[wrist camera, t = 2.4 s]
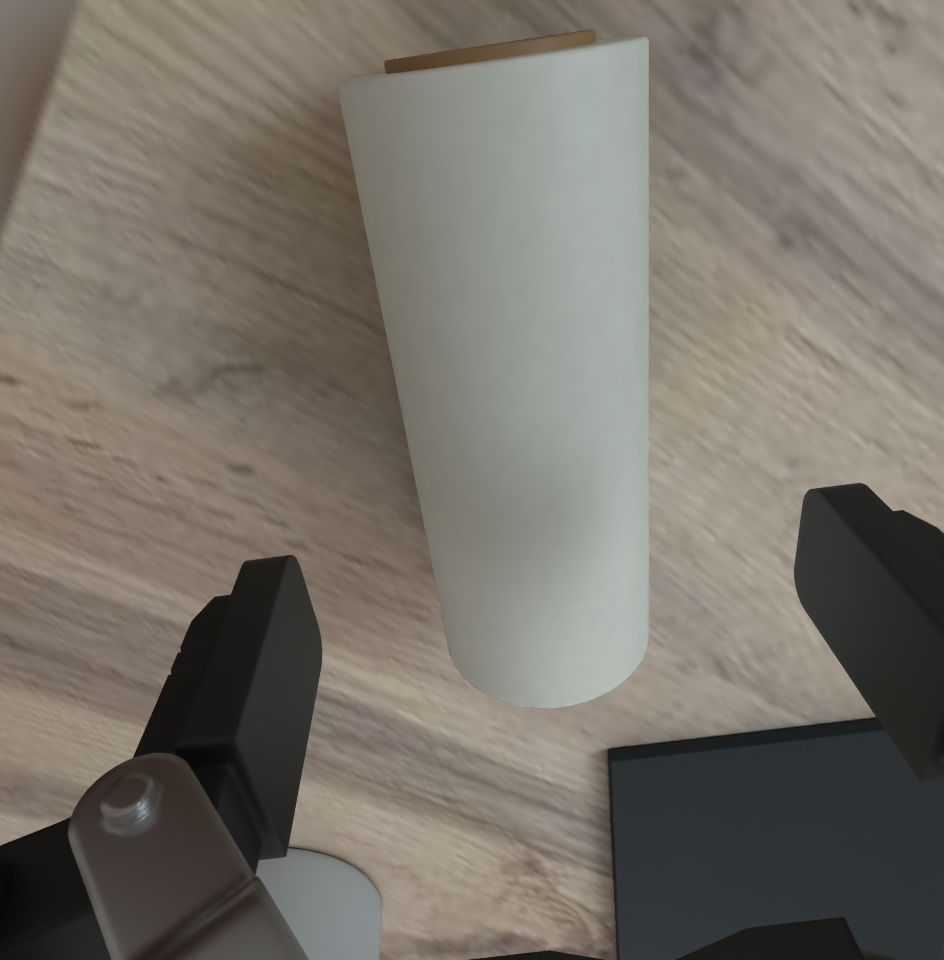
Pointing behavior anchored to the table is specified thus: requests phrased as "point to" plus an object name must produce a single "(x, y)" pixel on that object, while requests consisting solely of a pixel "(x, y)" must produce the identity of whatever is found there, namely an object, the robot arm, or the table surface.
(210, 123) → the table surface
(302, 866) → the mug
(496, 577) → the towel roll
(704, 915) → the mat
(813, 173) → the table surface
